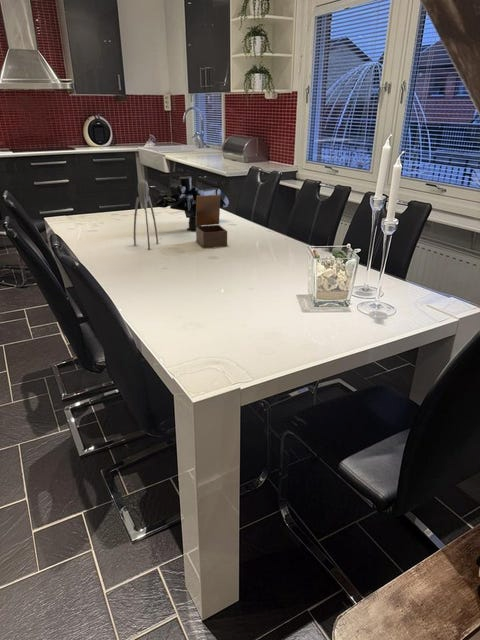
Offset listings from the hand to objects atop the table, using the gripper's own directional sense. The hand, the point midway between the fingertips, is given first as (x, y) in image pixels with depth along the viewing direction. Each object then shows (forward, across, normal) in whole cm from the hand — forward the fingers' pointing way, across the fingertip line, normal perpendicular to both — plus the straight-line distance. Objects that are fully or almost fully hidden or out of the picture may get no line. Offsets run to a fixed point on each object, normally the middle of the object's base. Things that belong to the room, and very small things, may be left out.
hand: (163, 206), depth 225 cm
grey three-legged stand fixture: (+17, 0, +15) cm, 22 cm away
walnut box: (-5, +24, +17) cm, 30 cm away
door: (-9, +20, +2) cm, 22 cm away
